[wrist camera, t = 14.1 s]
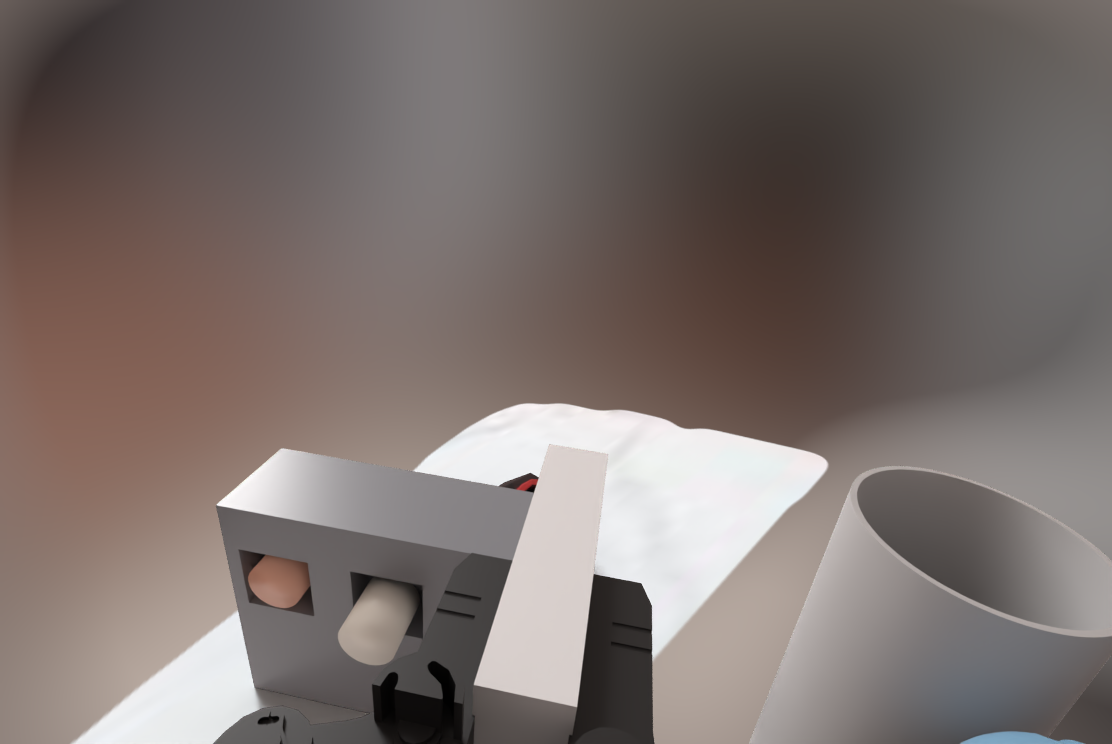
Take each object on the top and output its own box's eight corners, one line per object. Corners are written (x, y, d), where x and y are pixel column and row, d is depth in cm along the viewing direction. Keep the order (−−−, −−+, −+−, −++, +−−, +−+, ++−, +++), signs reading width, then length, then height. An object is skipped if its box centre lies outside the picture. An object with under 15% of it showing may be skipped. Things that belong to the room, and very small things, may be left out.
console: (554, 667, 47) (577, 500, 39) (539, 751, 40) (563, 571, 33) (305, 615, 49) (281, 448, 41) (254, 687, 43) (215, 505, 35)
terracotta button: (333, 570, 41) (329, 531, 40) (302, 612, 38) (297, 571, 36) (286, 561, 42) (280, 522, 40) (252, 602, 38) (244, 561, 36)
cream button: (420, 619, 38) (419, 579, 36) (396, 670, 34) (394, 628, 33) (369, 608, 38) (366, 568, 37) (340, 658, 35) (335, 616, 33)
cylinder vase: (868, 971, 31) (1088, 686, 21) (708, 766, 41) (804, 498, 30) (966, 842, 38) (1172, 575, 27) (809, 690, 47) (917, 448, 37)
